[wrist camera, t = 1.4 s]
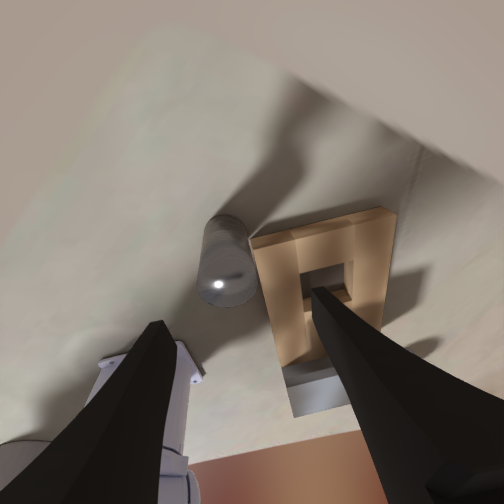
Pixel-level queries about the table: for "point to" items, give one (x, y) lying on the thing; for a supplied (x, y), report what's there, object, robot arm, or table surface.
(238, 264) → the peg
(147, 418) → the robot arm
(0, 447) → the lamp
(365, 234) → the socket board
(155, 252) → the table surface
